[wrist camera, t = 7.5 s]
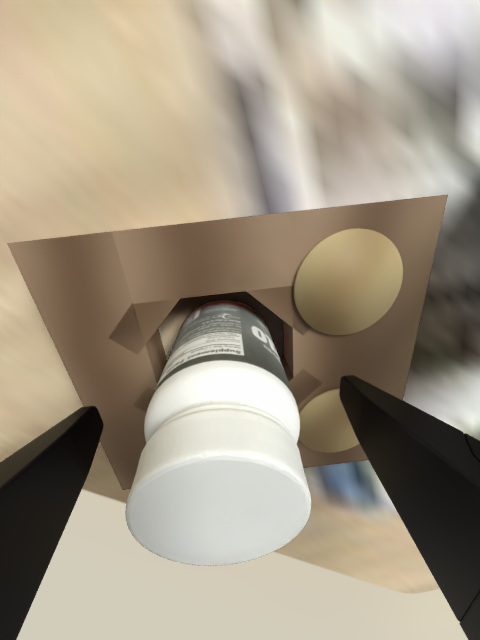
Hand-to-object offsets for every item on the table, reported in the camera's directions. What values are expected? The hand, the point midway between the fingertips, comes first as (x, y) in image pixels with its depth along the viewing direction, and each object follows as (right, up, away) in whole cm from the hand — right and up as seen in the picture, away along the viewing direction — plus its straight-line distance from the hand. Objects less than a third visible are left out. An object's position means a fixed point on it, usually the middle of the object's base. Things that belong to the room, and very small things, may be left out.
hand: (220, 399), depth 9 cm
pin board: (+1, +1, +4) cm, 5 cm away
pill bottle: (0, +2, +4) cm, 5 cm away
